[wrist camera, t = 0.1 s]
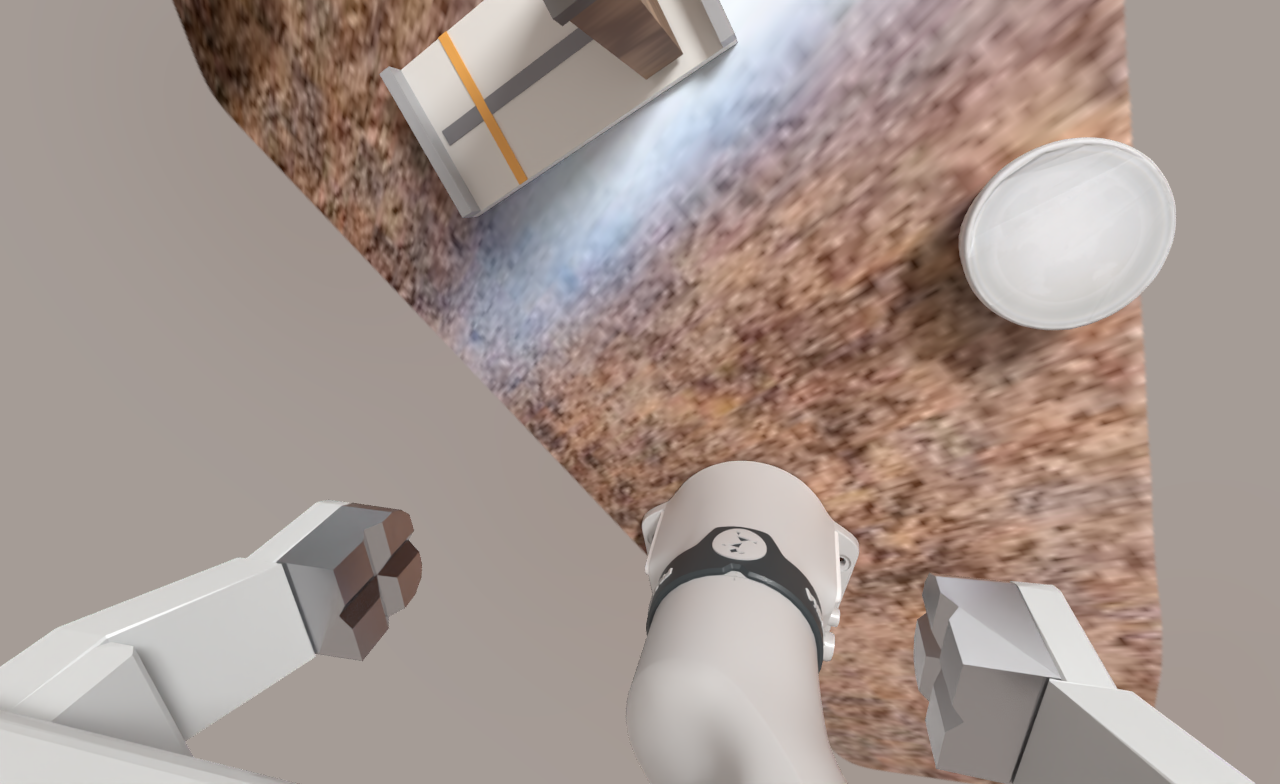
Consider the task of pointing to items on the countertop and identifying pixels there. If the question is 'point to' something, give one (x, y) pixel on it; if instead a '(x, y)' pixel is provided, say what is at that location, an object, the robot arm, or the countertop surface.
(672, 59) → the block
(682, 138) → the countertop surface
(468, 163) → the slide board
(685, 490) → the robot arm
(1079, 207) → the ramekin
